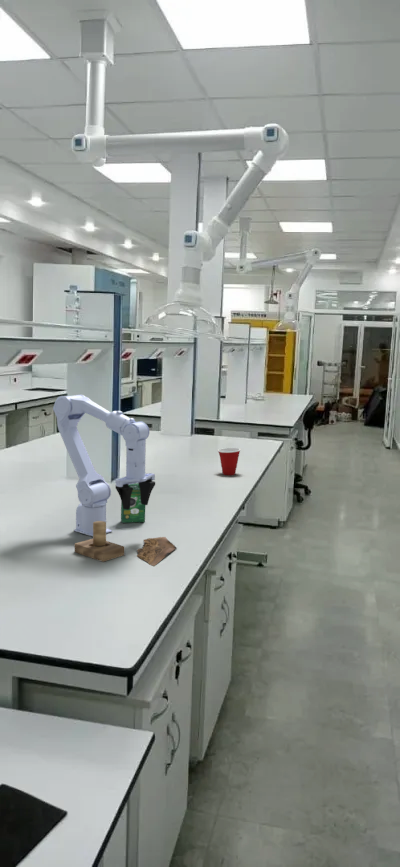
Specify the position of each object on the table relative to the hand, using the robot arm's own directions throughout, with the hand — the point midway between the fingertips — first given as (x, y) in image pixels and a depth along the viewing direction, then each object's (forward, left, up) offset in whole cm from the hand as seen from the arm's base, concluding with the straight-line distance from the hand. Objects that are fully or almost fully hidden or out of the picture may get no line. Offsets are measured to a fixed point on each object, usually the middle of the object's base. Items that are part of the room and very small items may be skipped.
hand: (135, 506), depth 196 cm
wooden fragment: (+12, -3, -11) cm, 16 cm away
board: (+2, -16, -10) cm, 19 cm away
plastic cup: (-42, +102, -11) cm, 111 cm away
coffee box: (-15, +14, -11) cm, 23 cm away
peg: (+2, -16, -10) cm, 19 cm away
